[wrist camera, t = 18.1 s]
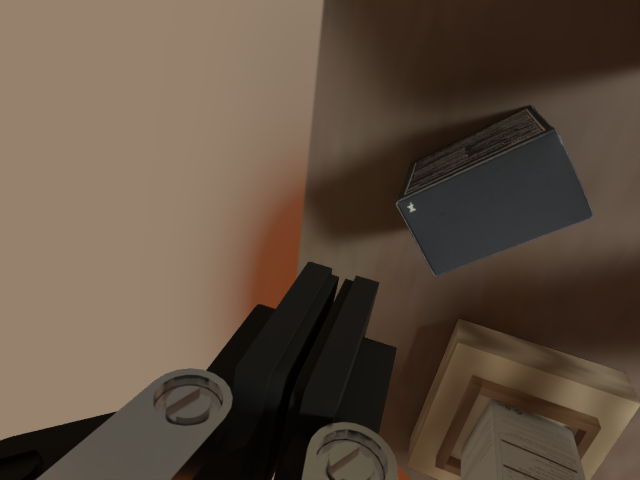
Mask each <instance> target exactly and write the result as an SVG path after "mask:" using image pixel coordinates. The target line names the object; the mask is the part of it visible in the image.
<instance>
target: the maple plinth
mask: <svg viewBox="0 0 640 480" xmlns="http://www.w3.org/2000/svg"><path fill="white" fill-rule="evenodd" d="M491 398H492V399H495V400H498V401H500V402H503V403H506V404H509V405H512V406H515V407H518V408H520V409H522V410H525V411H527V412H530V413H532V414H535V415H537V416H540V417H542V418H545V419H547V420H549V421H552V422H554V423H557V424H559V425H561V426H564V427H566V428H568V429H570V430H572V432H573V435H574V439H575V443H576V446H577V450H578V453H579V457H580V461H581V464H582V467H583V471H584V475H585V479H586V480H590V479H591V478H592V476H593V475H594V473H595V472H596V470H597V469H598V467H599V466H600V464H601V463H602V461H603V460H604V458H605V457H606V455H607V454H608V452H609V451H610V449H611V448H612V446H613V445H614V443H615V442H616V441H617V439H618V438H619V436H620V435H621V433H622V432H623V430H624V429H625V427H626V426H627V424H628V423H629V421H630V420H631V418H632V417H633V415H634V414H635V412H636V411H637V409H638V408H639V406H640V401H639V398H638V396H637V394H636V392H635V390H634V388H633V386H632V384H631V382H630V379H629V377H628V375H627V373H625V372H621V371H618V370H615V369H612V368H609V367H606V366H603V365H600V364H597V363H594V362H591V361H588V360H585V359H582V358H578V357H575V356H572V355H569V354H566V353H563V352H560V351H557V350H554V349H551V348H548V347H545V346H542V345H539V344H536V343H532V342H529V341H526V340H523V339H520V338H517V337H514V336H511V335H508V334H505V333H502V332H499V331H496V330H493V329H490V328H486V327H483V326H480V325H477V324H474V323H471V322H468V321H465V320H462V319H459V318H458V321H457V323H456V326H455V328H454V331H453V333H452V336H451V338H450V341H449V343H448V346H447V348H446V351H445V353H444V356H443V358H442V361H441V363H440V366H439V368H438V371H437V373H436V376H435V378H434V381H433V383H432V386H431V388H430V391H429V393H428V396H427V398H426V401H425V403H424V406H423V408H422V411H421V413H420V416H419V418H418V421H417V423H416V426H415V428H414V431H413V433H412V435H411V439H410V445H409V452H408V459H407V466H406V467H407V468H410V469H412V470H415V471H418V472H420V473H423V474H425V475H428V476H431V477H433V478H436V479H438V480H461V449H462V448H463V446H464V444H465V442H466V441H467V439H468V437H469V435H470V434H471V432H472V430H473V428H474V427H475V425H476V423H477V422H478V420H479V418H480V416H481V415H482V413H483V411H484V409H485V408H486V406H487V405H488V403H489V401H490V400H491Z"/></svg>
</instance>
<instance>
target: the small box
mask: <svg viewBox="0 0 640 480" xmlns="http://www.w3.org/2000/svg"><path fill="white" fill-rule="evenodd" d="M396 207H397V208H398V210H399V212H400V214H401V215H402V217H403V219H404V221H405V223H406V225H407V226H408V229H409V230H410V232H411V234H412V236H413V238H414V239H415V241H416V243H417V245H418V247H419V249H420V251H421V253H422V255H423V256H424V258H425V260H426V262H427V264H428V266H429V267H430V270H431V271H432V273H433V275H434V276H439V275H441V274H444V273H446V272H449V271H452V270H455V269H457V268H460V267H462V266H465V265H468V264H470V263H473V262H475V261H478V260H481V259H483V258H486V257H489V256H491V255H494V254H497V253H499V252H502V251H505V250H507V249H510V248H512V247H515V246H518V245H521V244H523V243H526V242H529V241H531V240H534V239H537V238H539V237H542V236H545V235H548V234H550V233H553V232H556V231H558V230H561V229H564V228H567V227H569V226H572V225H575V224H577V223H580V222H583V221H586V220H588V219H591V218H592V217H593V212H592V209H591V207H590V204H589V202H588V199H587V197H586V194H585V192H584V190H583V187H582V185H581V182H580V180H579V178H578V176H577V173H576V171H575V169H574V167H573V164H572V162H571V159H570V157H569V155H568V153H567V151H566V148H565V146H564V144H563V142H562V140H561V137H560V134H559V133H558V131H557V130H556V129H555V128H554V127H552V126H551V125H549V124H548V122H547V121H546V120H545V119H544V118H543V117H542V116H541V115H540V114H539V113H538V112H537V111H536V109H535V107H534V106H532V105H531V106H528V107H526V108H524V109H522V110H520V111H518V112H516V113H514V114H512V115H509V116H508V117H505V118H503V119H501V120H499V121H497V122H495V123H493V124H491V125H488V126H487V127H485V128H483V129H481V130H479V131H476V132H474V133H472V134H470V135H468V136H466V137H464V138H462V139H460V140H458V141H455V142H453V143H451V144H449V145H448V146H446V147H444V148H441V149H439V150H437V151H435V152H433V153H431V154H429V155H427V156H425V157H423V158H421V159H419V160H417V161H415V162H413V163H411V164H410V167H409V171H408V174H407V177H406V180H405V182H404V185H403V187H402V190H401V192H400V195H399V198H398V200H397V202H396Z"/></svg>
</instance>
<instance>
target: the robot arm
mask: <svg viewBox="0 0 640 480" xmlns="http://www.w3.org/2000/svg"><path fill="white" fill-rule="evenodd" d="M331 274H332V268H329V267H326V266H323V265H319V264H316V263H313V262H308V263H307V265H306V266H305V267H304V269H303V270H302V272H301V273H300V275H299V276H298V278H297V279H296V280H295V282H294V283H293V285H292V286H291V288H290V289H289V291H288V292H287V294H286V295H285V297H284V298H283V299H282V301H281V302H280V304H279V305H278V307H277V308H276V309H274V308H270V307H267V306H265V305H261V304H259V305H257V306H256V307H255V308H254V309H253V310H252V312H251V313H250V314H249V316H248V317H247V318H246V320H245V321H244V322H243V323H242V325H241V326H240V327H239V329H238V330H237V331H236V332H235V334H234V335H233V336H232V338H231V339H230V340H229V342H228V343H227V344H226V346H225V347H224V348H223V349H222V351H221V352H220V353H219V354H218V356H217V357H216V358H215V360H214V361H213V362H212V364H211V365H210V366H209V367H208V369H207V370H206V371H205V370H200V369H181V370H176V371H173V372H170V373H167V374H164V375H163V376H161V377H160V378H158V379H156V380H155V381H154V382H152V383H151V384H150V385H149V386H148V387H147V388H145V389H144V390H143V391H142V392H140V393H139V394H138V395H137V396H136V397H134V398H133V399H132V400H131V401H130V402H129V403H127V404H126V405H125V406H124V407H122V408H121V409H120V410H119V411H117V412H113V413H109V414H104V415H100V416H96V417H92V418H88V419H84V420H79V421H75V422H71V423H67V424H63V425H58V426H55V427H50V428H46V429H42V430H38V431H34V432H29V433H25V434H21V435H17V436H12V437H9V438H6V439H3V440H1V441H0V480H272V477H273V475H274V473H275V476H274V480H398V469H397V463H396V458H395V455H394V454H393V452H392V450H391V448H390V446H389V445H388V444H387V443H386V442H385V441H384V440H383V439H382V438H381V436H380V435H378V434H379V429H380V424H381V420H382V415H383V410H384V406H385V401H386V396H387V392H388V387H389V382H390V378H391V373H392V368H393V364H394V359H395V354H396V347H393V346H390V345H386V344H383V343H380V342H377V341H374V340H371V339H368V338H365V334H366V330H367V326H368V323H369V319H370V315H371V312H372V308H373V305H374V301H375V297H376V294H377V290H378V286H379V282H376V281H373V280H370V279H366V278H363V277H360V276H356V277H355V279H354V281H351V280H348V279H345V281H344V283H343V285H342V287H341V289H340V291H339V293H338V295H337V297H336V299H335V301H334V298H335V294H336V290H337V285H338V280H339V277H338V276H335V275H331Z"/></svg>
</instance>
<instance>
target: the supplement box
mask: <svg viewBox="0 0 640 480" xmlns="http://www.w3.org/2000/svg"><path fill="white" fill-rule="evenodd" d="M461 480H586V479H585V475H584V471H583V467H582V464H581V461H580V457H579V453H578V450H577V446H576V443H575V439H574V435H573V432H572V430H570V429H568V428H566V427H564V426H561V425H559V424H557V423H554V422H552V421H549V420H547V419H545V418H542V417H540V416H537V415H535V414H532V413H530V412H527V411H525V410H522V409H520V408H518V407H515V406H512V405H509V404H506V403H503V402H500V401H498V400H495V399H492V398H491V400H490V401H489V403H488V405H487V406H486V408H485V409H484V411H483V413H482V415H481V416H480V418H479V420H478V422H477V423H476V425H475V427H474V428H473V430H472V432H471V434H470V435H469V437H468V439H467V441H466V442H465V444H464V446H463V448H462V449H461Z"/></svg>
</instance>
